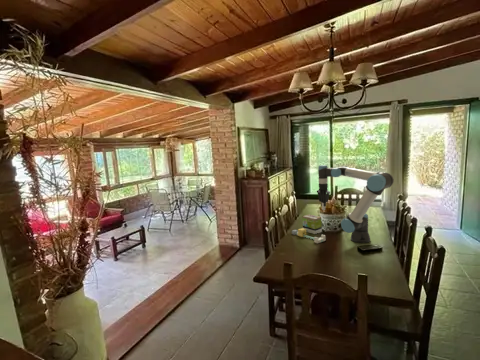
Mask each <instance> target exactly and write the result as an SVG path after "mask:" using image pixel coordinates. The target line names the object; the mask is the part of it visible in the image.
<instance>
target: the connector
mask: <svg viewBox="0 0 480 360" xmlns="http://www.w3.org/2000/svg"><path fill="white" fill-rule="evenodd" d="M297 232H298V229H293V230H291V234H292V235H294V236H295V235H296V233H297ZM296 236H297V235H296Z"/></svg>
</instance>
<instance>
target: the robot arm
mask: <svg viewBox="0 0 480 360" xmlns="http://www.w3.org/2000/svg"><path fill="white" fill-rule="evenodd" d="M317 171H318V190H316V193H317V196H318V201H319V202H320V205H321V211H326V207H327V203H328V202H329V198H330V194H331V191H329V189H328V187H329V184H328V182H329V181H328V179H329V177H330V178H340V176H341V177H342V176H343V177H348V178H353V179H357V180H363V181H366V186H365V188H366V190H365V191H364V193H363V195H362V196H361V198H360V199H359V201H357V202H358V203H357V204H356V205H355V207H354V209H353V210H352V211H351V212H349V213H348V214H347V215H346V216H345V218H343V219H342V220H341V222H340V226H341V229H342V230H343V231H344V232H345V233H347V234H348V233H349V234H350V233H351V234H350V235H351V236H350V240H351V241H352V242H353V243H359V244H367V243H370V242H371V236H370V233H369V216H368V214H367V212H368V211H369V209H370V207H371V206H372V204H373V203H374V202H375V200H376V198H377V197H378V196H381V195H382V194H383V192H384V190H386V189H389V188H391V187H392V186H393V185H394V182H395V181H394V177H393V175H392V174H390V173H389V172H382V171H377V172H374V171H369V170H364V169H358V168H352V167H348V166H345V165H342V166H338V167H328V165H327V164H321V165H318V170H317Z"/></svg>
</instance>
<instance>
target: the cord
mask: <svg viewBox="0 0 480 360" xmlns="http://www.w3.org/2000/svg"><path fill="white" fill-rule="evenodd" d="M296 236H298V235H297V233H296ZM305 237H306V239H309V238H310V239H309V240H312V239H313V240H312V241H314V237H315V236H310V235H307V234H306V235H304V234H303V237H302V238H305ZM322 242H324V241H323V240H321V242H320V243H322Z"/></svg>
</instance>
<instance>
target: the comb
mask: <svg viewBox="0 0 480 360" xmlns="http://www.w3.org/2000/svg"><path fill="white" fill-rule="evenodd" d="M313 237H314V240H313V241H314V243H315V244H320V243H322V242H321V240H323V242H325V241H326V239H327V237H326V235H325V234H321V235H320V237H317V236H313Z"/></svg>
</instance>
